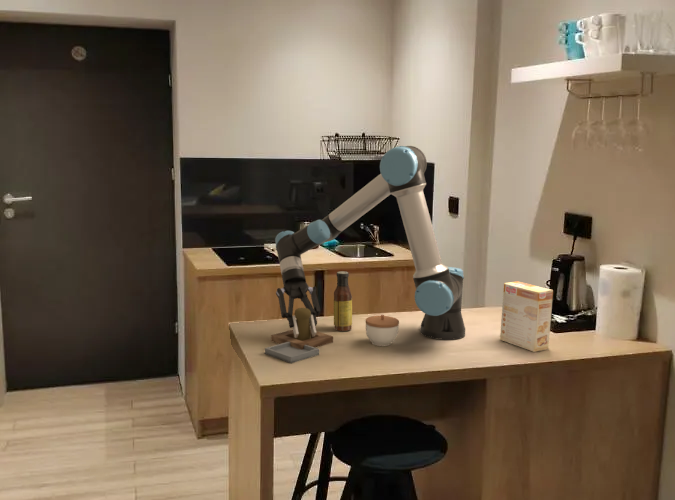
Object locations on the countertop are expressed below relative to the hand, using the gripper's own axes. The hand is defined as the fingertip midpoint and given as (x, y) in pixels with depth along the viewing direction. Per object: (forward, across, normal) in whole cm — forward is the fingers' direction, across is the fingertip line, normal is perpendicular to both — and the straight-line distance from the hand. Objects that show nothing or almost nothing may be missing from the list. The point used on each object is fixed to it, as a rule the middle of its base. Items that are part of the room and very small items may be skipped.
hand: (305, 335), depth 222 cm
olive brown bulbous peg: (0, 0, -5) cm, 5 cm away
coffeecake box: (+14, -69, +9) cm, 71 cm away
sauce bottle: (-7, -17, -12) cm, 22 cm away
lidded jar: (+5, -24, 0) cm, 25 cm away
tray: (+8, +6, +3) cm, 11 cm away
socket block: (0, 0, -5) cm, 5 cm away
